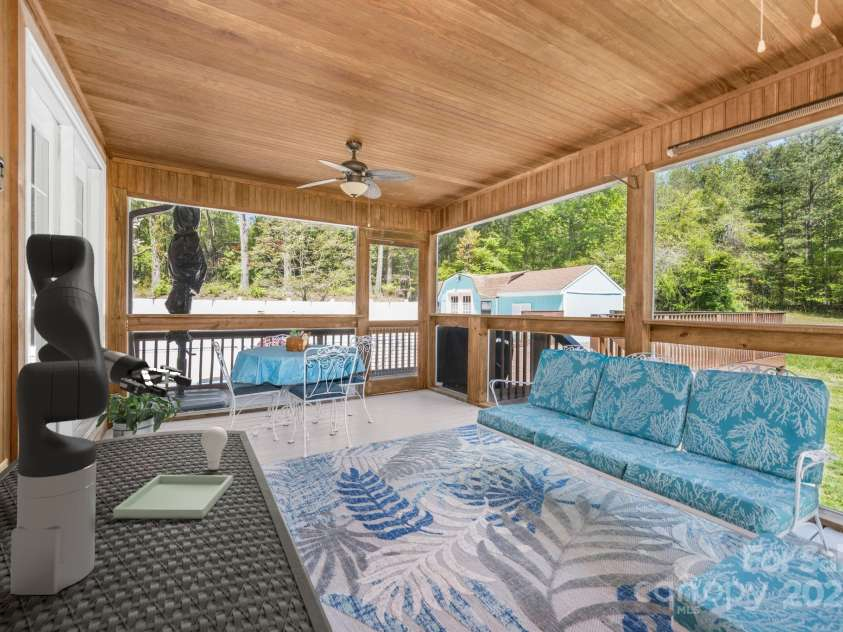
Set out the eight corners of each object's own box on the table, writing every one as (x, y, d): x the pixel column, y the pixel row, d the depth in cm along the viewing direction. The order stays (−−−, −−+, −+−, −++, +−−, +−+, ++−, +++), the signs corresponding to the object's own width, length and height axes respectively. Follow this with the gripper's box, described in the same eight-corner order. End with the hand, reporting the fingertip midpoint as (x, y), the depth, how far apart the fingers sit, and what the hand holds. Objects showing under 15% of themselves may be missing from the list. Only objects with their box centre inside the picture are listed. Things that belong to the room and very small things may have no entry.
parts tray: (202, 518, 85) (202, 509, 85) (113, 518, 84) (113, 509, 84) (232, 482, 102) (233, 475, 102) (158, 482, 101) (159, 474, 101)
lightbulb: (231, 466, 112) (232, 424, 111) (218, 475, 106) (219, 431, 105) (209, 464, 112) (210, 422, 112) (194, 473, 106) (195, 429, 106)
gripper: (98, 361, 101) (160, 382, 99) (145, 349, 115) (200, 367, 113) (94, 391, 102) (155, 412, 101) (141, 375, 116) (195, 393, 114)
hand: (178, 388), depth 107 cm, fingers open, 8 cm apart
